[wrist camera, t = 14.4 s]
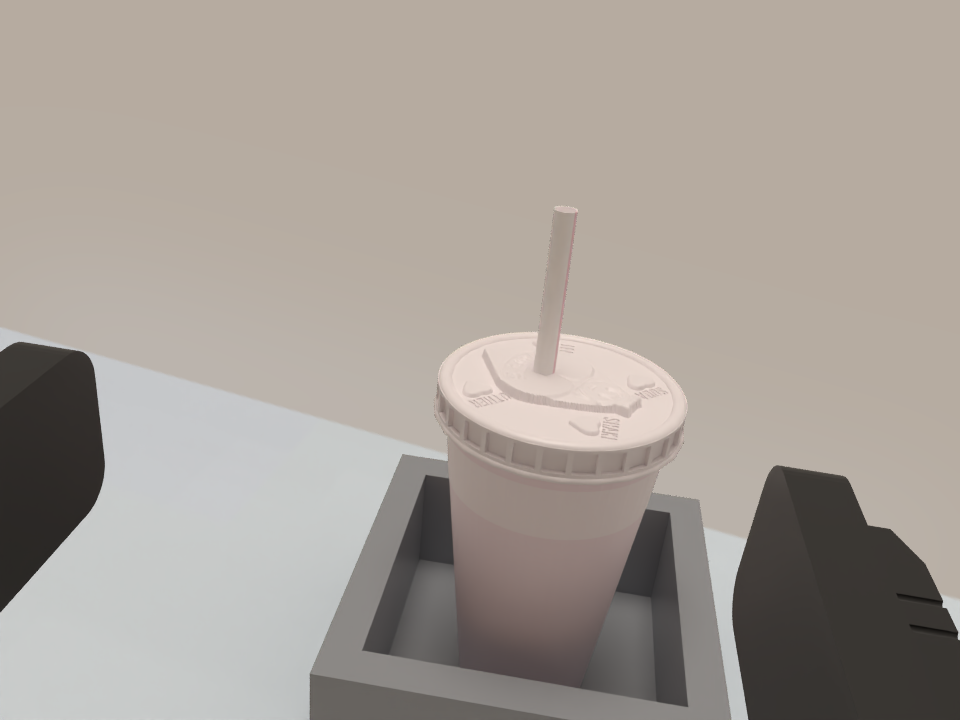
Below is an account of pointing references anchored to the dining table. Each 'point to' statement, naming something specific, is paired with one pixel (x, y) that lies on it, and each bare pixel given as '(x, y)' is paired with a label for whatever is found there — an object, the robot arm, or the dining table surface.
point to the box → (504, 699)
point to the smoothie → (548, 481)
